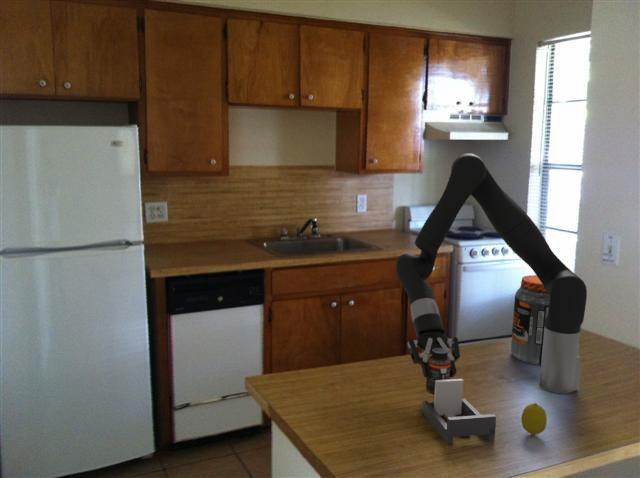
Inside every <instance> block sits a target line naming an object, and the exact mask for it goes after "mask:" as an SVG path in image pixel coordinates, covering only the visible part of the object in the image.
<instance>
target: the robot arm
mask: <svg viewBox="0 0 640 478" xmlns="http://www.w3.org/2000/svg"><path fill="white" fill-rule="evenodd" d="M450 169H451V171H450V176H449V178H448V181H447V183H446V187H445V189H444V191H443V193H442V194H441V197H440V199H439V200H438V202H437V203H436V205H435V207H434V208H433V210H431V213H430V214H429V215H428V217H427V219H426V220H425V222H424V223H423V226H422V227H421V229H420V231H419V232H418V235H417V236H416V238H415V241H414V244H415V246H416V247H417V249H419V250H420V255H414V254H412V253H402V254H401V255H400V256H399V257H398V258H397V260H396V263H395V272H396V274H397V277H398V279H399V281H400V283H401V285H402V286H403V289H404V290H405V292H406V294H407V298H408V303H409V306H410V315H411V320H412V323H413V328H414V332H415V336H416V339H415V340H414V339H412V338H411V339H409V340H408V342H407V343H406V347H407V349H408V351H409V352H408V353H409V355H410V358H411V360H412V363H413V364H415V365H416V364H418V365H420V367H421V371H422V375H423V377H424V378H425V379H430V377H431V372H430V367H429V363H427V361H428V358H429V356H432V349H434V348H442V349H446V350H447V351H448V356H447V358H449V359H450V361H451V368H450V378H451V379H453V378H454V377H455V376H456V374H457V368H456V362H457V361H458V360H459V359H460V357H461V354H460V353H461V352H460V347H459V345H460V344H459V339H458V337H456V336H455V337H453V338H448V337H447V335H446V334H445V329H444V325H443V321H442V318H441V314H440V311H439V307H438V305H437V303H436V299H435V295H434V292H433V291H434V290H433V289H432V286H431V284H430V283H428V282H427V281H426V280H427V279H429V277H431V275H432V274H433V273H432V272H433V270H434V266H435V264H436V259H437V255H438V251H439V249H440V247H441V246H442V244H443V242H444V241H445V239H446V238H447V236H448V234H449V231H450V230H451V228H452V226H453V223H454V222H455V220H456V218H457V216H458V215H459V212H460V211H461V209H462V208H463V207H464V205H465V203H466V202H467V200H468V199H469V197H472V198H474V200H475V201H476V202H477V203H478V204H479V206H480V207H481V209H482V210H483V212H484V214H485V215H486V217H487V219H488V221H489V223H490V224H491V225H492V227H493V229H494V230H495V231H496V233H497V234H498V235H499V237H500V238H501V239H502V240H503V241H504V243H505V244H506V246H508V247H509V248H510V250H512V251H513V252H514V253H515V255H517V256H518V257H519V258H520V259H521V260H522V261H523V263H525V264H527V265H528V267H530V269H531V270H532V271H533V272H534V275H537V277H538V278H539V280H540V281H541V283H542V284H543V286H544V287H545V289H546V291H547V293H548V294H549V296H550V303H549V312H548V315H547V316H546V318H545V326H544V337H543V348H542V359H541V365H540V370H539V372H540V373H539V379H538V380H539V382H538V383H539V384H538V385H539V386H540V387H541V388H542V389H544V390H546V391H548V392H551V393H556V394H566V395H567V394H571V393H574V392H575V391H578V388H579V380H580V379H579V378H580V369H581V357H580V356H579V344H580V335H581V328H582V324H583V322H584V320H585V313H586V304H587V296H588V294H587V293H588V290H587V286H586V284H585V281H584V280H583V279H582V278H581V277H580V276H578V275H577V274H576V273H575V272H573V271H572V270H571V269H570V268H569V267H568V266H567V265H565V263H564V262H562V260H561V259H559V257H558V256H556V254H555V253H554V252H553V251H552V249H551V247H550V246H549V244H548V242H547V240H546V238H545V237H544V235H543V232H542V231H541V230H540V228H539V227H538V226H537V224H536V223H535V222H534V221H533V219H532V218H531V217H530V216H529V214H527V212H526V211H524V210H523V208H522V207H521V206H520V205H519V204H518V203H517V202H516V201H515V200H514V199H513V198H512V197H511V196H510V195H509V194H508V193H507V192H505V191H504V190H503V188H502V187H501V186H500V184H498V182H497V181H496V179H495V178H494V177H493V175H492V174H491V172H490V171H489V169H488V168H487V166H486V164H485V162H484V161H483V159H482V158H481V157H480V156H478V155H477V154H475V153H469V152H468V153H463V154H460V155H458V156H457V157H456V158H455V160H453V163H452V165H451V168H450ZM447 344H448V346H449V348H450V349H451V351H450V349H449V348H448V346H447ZM417 347H419V348H420V349H422V352H421V355H420V354H419V351H418V349H417Z"/></svg>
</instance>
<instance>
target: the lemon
mask: <svg viewBox="0 0 640 478" xmlns="http://www.w3.org/2000/svg"><path fill="white" fill-rule="evenodd" d="M521 424H522V427H523V429H524V430H525V431H526V432H527V433H528V434H530V435H531V436H532V437H533V436H535V435H540V434H541V433H543V432H544V430H545V429H546V427H547V413H546V411H545V409H544V408H543V407H542V406H541V405H540V404H538V403H536V402H534V403H530V404H528V405H526V406H525V407H524V409H523V410H522V413H521Z"/></svg>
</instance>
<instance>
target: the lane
mask: <svg viewBox="0 0 640 478" xmlns="http://www.w3.org/2000/svg"><path fill="white" fill-rule="evenodd" d="M421 409H422V410H421V413H422V414H423V415H424V417H425V419H427V420H428V422H429V423H430V425H432V427H433V428H434V429H435V431H436V432H437V433H438V434H439V436H440V437H441V438H442V440H443V441H444V443H446V444H447V445H448V446H450V445H453V444H454V438H456V437H459V438H460V437H467V436H480V435H481V436H482V435H483V436H484V438H486V439H487V440H488V441H489V442H495V436H496V426H497V425H496V424H497V416H496V415H495V414H494V413H492V414H491V413H489V414H481V413H480V412H479V411H478V410H477V409H476V408H475V407H474V406H473V405H472V404H471V403H470V402H469V401H468V400H467V399H466V398H465V397H464V398H463V397H462V409H461V414H463V415H462V416H457V417H448V418H447V419H446V421H445V420H444V419H443V418H442V416H440V415H439V414H438V413H437V412H436V411H435V410H434V401H433V402H429V401H428V400H423V401H422V407H421Z"/></svg>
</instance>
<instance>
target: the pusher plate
mask: <svg viewBox="0 0 640 478" xmlns="http://www.w3.org/2000/svg"><path fill="white" fill-rule="evenodd" d="M463 391H464V379H463V378H455V379H454V378H451V379H449V380H435V395H433V396H434V398H433V399H434V400H433V402H434V410H435V411H436V412H437V413H438V414H439V415H440V417H442V416H443V417H444V418H445V419H446V420H447V418H448V417H458V415H462V412H461V409H462V399H463Z"/></svg>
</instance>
